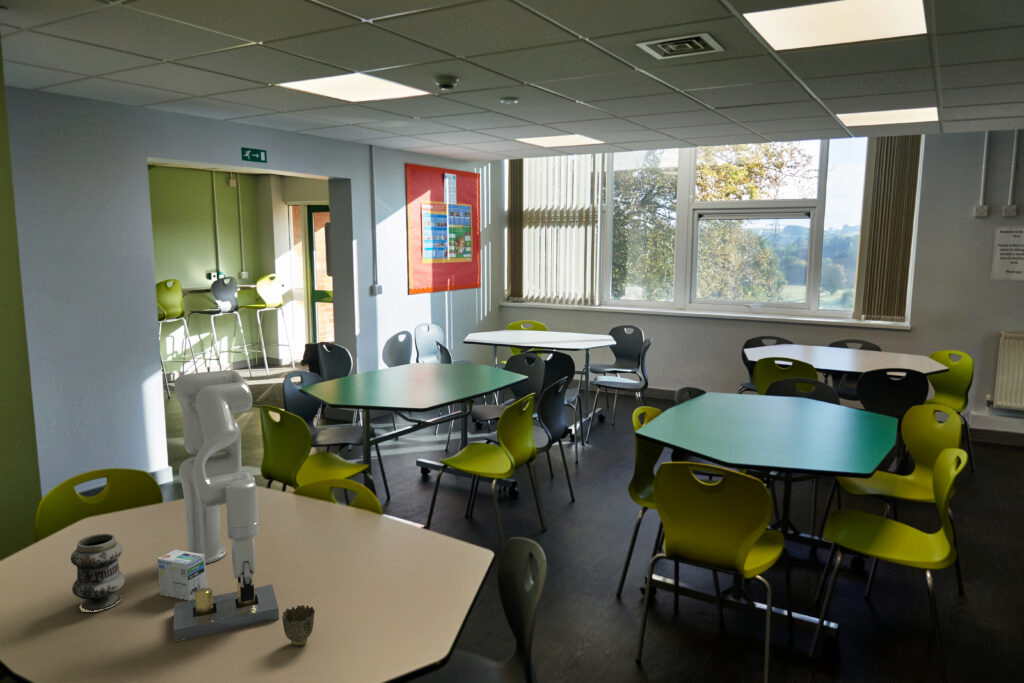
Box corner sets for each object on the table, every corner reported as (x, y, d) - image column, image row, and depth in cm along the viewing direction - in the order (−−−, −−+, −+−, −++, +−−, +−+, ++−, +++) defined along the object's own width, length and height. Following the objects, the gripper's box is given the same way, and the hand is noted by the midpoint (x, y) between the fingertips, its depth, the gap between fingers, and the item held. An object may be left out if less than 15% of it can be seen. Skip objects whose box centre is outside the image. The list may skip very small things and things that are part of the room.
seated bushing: (196, 619, 174) (194, 589, 173) (213, 615, 176) (211, 586, 175) (196, 627, 170) (195, 596, 169) (214, 623, 172) (212, 593, 171)
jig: (175, 614, 176) (174, 603, 176) (272, 594, 186) (272, 584, 186) (174, 641, 164) (173, 630, 163) (279, 619, 174) (278, 607, 174)
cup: (287, 636, 166) (286, 605, 165) (318, 634, 167) (317, 603, 166) (279, 653, 159) (278, 621, 158) (312, 651, 159) (310, 619, 158)
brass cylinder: (238, 610, 178) (236, 581, 177) (254, 607, 180) (253, 578, 179) (239, 617, 175) (238, 588, 174) (256, 614, 176) (254, 585, 175)
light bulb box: (208, 590, 189) (206, 553, 188) (189, 602, 183) (187, 563, 182) (178, 584, 193) (175, 548, 191) (158, 595, 186) (156, 558, 185)
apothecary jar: (115, 613, 177) (110, 547, 175) (65, 617, 175) (59, 550, 173) (133, 591, 189) (128, 528, 187) (86, 594, 187) (81, 531, 185)
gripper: (225, 519, 181) (228, 580, 183) (229, 544, 165) (232, 610, 167) (255, 514, 184) (258, 575, 186) (262, 538, 168) (265, 604, 171)
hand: (246, 591), depth 177 cm, fingers open, 9 cm apart
